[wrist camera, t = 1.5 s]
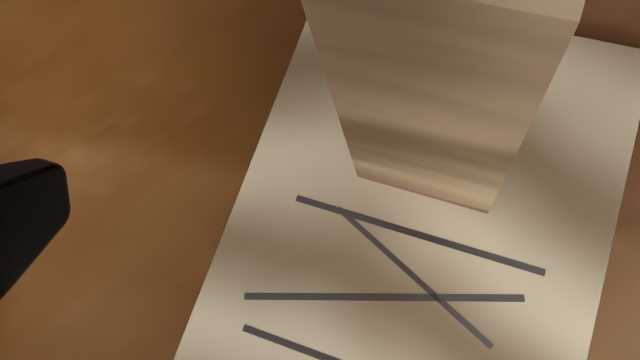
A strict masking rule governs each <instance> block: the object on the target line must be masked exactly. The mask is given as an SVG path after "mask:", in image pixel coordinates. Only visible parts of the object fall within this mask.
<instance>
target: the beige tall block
mask: <svg viewBox="0 0 640 360" xmlns="http://www.w3.org/2000/svg"><path fill="white" fill-rule="evenodd" d="M301 3H302V6H303V9H304V12H305V15H306V18H307V21H308V25H309V28H310V31H311V34H312V37H313V40H314V43H315V46H316V49H317V52H318V56H319V59H320V62H321V65H322V68H323V71H324V74H325V77H326V80H327V84H328V87H329V90H330V93H331V96H332V99H333V102H334V105H335V108H336V111H337V115H338V118H339V121H340V124H341V127H342V130H343V133H344V136H345V139H346V143H347V146H348V149H349V152H350V155H351V158H352V161H353V164H354V167H355V170H356V174H357V177H360V178H364V179H367V180H371V181H374V182H378V183H381V184H385V185H388V186H392V187H395V188H399V189H402V190H406V191H409V192H413V193H416V194H420V195H424V196H427V197H431V198H434V199H438V200H441V201H445V202H448V203H452V204H455V205H459V206H462V207H466V208H469V209H473V210H476V211H480V212H483V213H487V214H488V212H489V210H490V208H491V206H492V204H493V202H494V200H495V198H496V196H497V194H498V192H499V189H500V187H501V185H502V183H503V181H504V179H505V177H506V175H507V173H508V171H509V169H510V166H511V164H512V162H513V160H514V158H515V156H516V154H517V152H518V150H519V148H520V146H521V144H522V141H523V139H524V137H525V135H526V133H527V131H528V129H529V127H530V125H531V123H532V121H533V118H534V116H535V114H536V112H537V110H538V108H539V106H540V104H541V102H542V100H543V98H544V96H545V93H546V91H547V89H548V87H549V85H550V83H551V81H552V79H553V77H554V75H555V73H556V70H557V68H558V66H559V64H560V62H561V60H562V58H563V56H564V54H565V52H566V50H567V48H568V45H569V43H570V41H571V39H572V37H573V35H574V33H575V31H576V29H577V27H578V25H579V22H580V19H581V15H582V11H583V7H584V4H585V0H301Z"/></svg>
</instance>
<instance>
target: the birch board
mask: <svg viewBox="0 0 640 360" xmlns="http://www.w3.org/2000/svg"><path fill="white" fill-rule="evenodd" d="M639 120H640V49H638V48H633V47H628V46H623V45H618V44H613V43H608V42H603V41H599V40H594V39H589V38H584V37H579V36H574V35H573V37H572V39H571V41H570V43H569V45H568V48H567V50H566V52H565V54H564V56H563V58H562V60H561V62H560V64H559V66H558V68H557V70H556V73H555V75H554V77H553V79H552V81H551V83H550V85H549V87H548V89H547V91H546V93H545V96H544V98H543V100H542V102H541V104H540V106H539V108H538V110H537V112H536V114H535V116H534V118H533V121H532V123H531V125H530V127H529V129H528V131H527V133H526V135H525V137H524V139H523V141H522V144H521V146H520V148H519V150H518V152H517V154H516V156H515V158H514V160H513V162H512V164H511V166H510V169H509V171H508V173H507V175H506V177H505V179H504V181H503V183H502V185H501V187H500V189H499V192H498V194H497V196H496V198H495V200H494V202H493V204H492V206H491V208H490V210H489V212H488V214H487V213H483V212H480V211H476V210H473V209H469V208H466V207H462V206H459V205H455V204H452V203H448V202H445V201H441V200H438V199H434V198H431V197H427V196H424V195H420V194H416V193H413V192H409V191H406V190H402V189H399V188H395V187H392V186H388V185H385V184H381V183H378V182H374V181H371V180H367V179H364V178H360V177H357V174H356V170H355V167H354V164H353V161H352V158H351V155H350V152H349V149H348V146H347V143H346V139H345V136H344V133H343V130H342V127H341V124H340V121H339V118H338V115H337V111H336V108H335V105H334V102H333V99H332V96H331V93H330V90H329V87H328V84H327V80H326V77H325V74H324V71H323V68H322V65H321V62H320V59H319V56H318V52H317V49H316V46H315V43H314V40H313V37H312V34H311V31H310V28H309V25H308V21H307V20H306V23H305V25H304V28H303V31H302V33H301V36H300V38H299V41H298V43H297V46H296V48H295V51H294V54H293V56H292V59H291V61H290V64H289V66H288V69H287V71H286V74H285V77H284V79H283V82H282V84H281V87H280V89H279V92H278V94H277V97H276V100H275V102H274V105H273V107H272V110H271V112H270V115H269V117H268V120H267V123H266V125H265V128H264V130H263V133H262V135H261V138H260V140H259V143H258V146H257V148H256V151H255V153H254V156H253V158H252V161H251V163H250V166H249V169H248V171H247V174H246V176H245V179H244V181H243V184H242V186H241V189H240V192H239V194H238V197H237V199H236V202H235V204H234V207H233V209H232V212H231V214H230V217H229V220H228V222H227V225H226V227H225V230H224V232H223V235H222V237H221V240H220V243H219V245H218V248H217V250H216V253H215V255H214V258H213V260H212V263H211V266H210V268H209V271H208V273H207V276H206V278H205V281H204V283H203V286H202V289H201V291H200V294H199V296H198V299H197V301H196V304H195V306H194V309H193V312H192V314H191V317H190V319H189V322H188V324H187V327H186V329H185V332H184V335H183V337H182V340H181V342H180V345H179V347H178V350H177V352H176V355H175V358H174V360H587V356H588V351H589V347H590V342H591V338H592V333H593V329H594V324H595V319H596V315H597V310H598V306H599V301H600V297H601V292H602V288H603V283H604V279H605V274H606V270H607V265H608V261H609V256H610V251H611V247H612V242H613V238H614V233H615V229H616V224H617V220H618V215H619V211H620V206H621V202H622V197H623V193H624V188H625V183H626V179H627V174H628V170H629V165H630V161H631V156H632V152H633V147H634V143H635V138H636V134H637V129H638V125H639Z"/></svg>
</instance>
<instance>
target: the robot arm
mask: <svg viewBox="0 0 640 360" xmlns="http://www.w3.org/2000/svg"><path fill="white" fill-rule="evenodd" d="M69 215H70V200H69V192H68V184H67V176H66V172H65V170H64V168H63V167H62V166H61V165H59V164H57V163H53V162H50V161H47V160H44V159H39V158H35V159H29V160H23V161H17V162H11V163H5V164H0V300H1V298H2V297H3V296H4V295H5V294H6V293H7V292H8V291H9V290H10V289H11V288H12V286H13V285H14V284H15V283H16V282H17V281H18V279H19V278H20V277H21V276H22V275H23V274H24V272H25V271H26V270H27V269H28V268H29V266H30V265H31V264H32V263H33V262H34V260H35V259H36V258H37V257H38V256H39V254H40V253H41V252H42V251H43V250H44V249H45V247H46V246H47V245H48V244H49V243H50V241H51V240H52V239H53V238H54V237H55V235H56V234H57V233H58V232H59V231H60V230H61V228H62V227H63V226H64V225H65V223H66V222H67V220H68V218H69Z"/></svg>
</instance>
